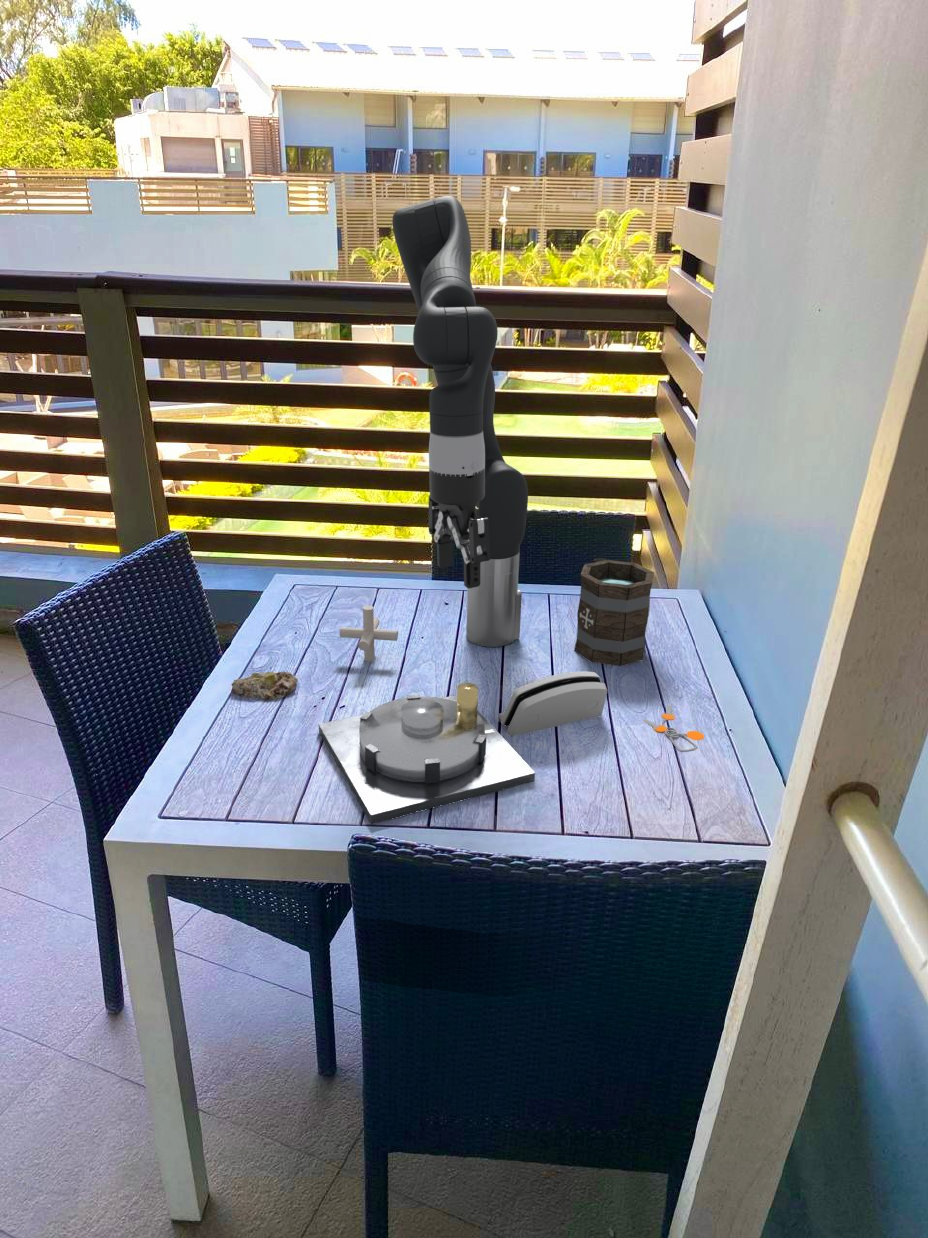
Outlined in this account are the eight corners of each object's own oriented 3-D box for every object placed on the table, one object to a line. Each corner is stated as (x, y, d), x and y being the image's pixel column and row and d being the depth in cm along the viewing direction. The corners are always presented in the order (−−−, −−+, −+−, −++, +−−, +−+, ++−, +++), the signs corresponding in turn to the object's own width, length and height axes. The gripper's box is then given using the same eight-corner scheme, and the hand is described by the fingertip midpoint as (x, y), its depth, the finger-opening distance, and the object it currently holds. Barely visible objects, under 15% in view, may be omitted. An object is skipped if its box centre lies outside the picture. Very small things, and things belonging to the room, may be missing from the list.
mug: (657, 664, 154) (667, 586, 148) (583, 667, 152) (590, 589, 146) (624, 618, 172) (632, 547, 165) (558, 621, 170) (563, 549, 164)
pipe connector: (401, 648, 157) (401, 598, 153) (392, 674, 148) (391, 621, 144) (347, 645, 158) (346, 594, 154) (335, 670, 149) (332, 617, 145)
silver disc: (365, 789, 115) (364, 731, 111) (354, 717, 132) (352, 665, 128) (497, 776, 118) (499, 720, 115) (470, 708, 135) (471, 656, 131)
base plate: (462, 701, 140) (462, 693, 140) (534, 781, 121) (535, 772, 120) (318, 732, 131) (318, 723, 130) (371, 824, 111) (371, 814, 111)
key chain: (717, 747, 130) (717, 743, 130) (674, 755, 128) (675, 751, 128) (672, 706, 141) (673, 702, 141) (632, 713, 139) (633, 708, 139)
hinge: (586, 700, 142) (602, 658, 135) (600, 722, 139) (617, 680, 132) (494, 721, 135) (506, 677, 128) (507, 744, 132) (520, 701, 125)
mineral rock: (296, 662, 147) (296, 672, 139) (298, 687, 148) (299, 698, 140) (231, 669, 145) (228, 679, 137) (234, 694, 146) (231, 706, 138)
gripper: (409, 456, 120) (413, 564, 127) (455, 481, 109) (457, 599, 116) (458, 449, 123) (459, 556, 130) (507, 473, 112) (506, 588, 119)
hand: (458, 576), depth 123 cm, fingers open, 8 cm apart
